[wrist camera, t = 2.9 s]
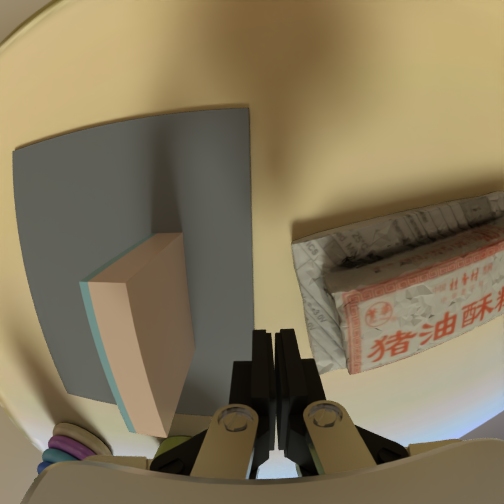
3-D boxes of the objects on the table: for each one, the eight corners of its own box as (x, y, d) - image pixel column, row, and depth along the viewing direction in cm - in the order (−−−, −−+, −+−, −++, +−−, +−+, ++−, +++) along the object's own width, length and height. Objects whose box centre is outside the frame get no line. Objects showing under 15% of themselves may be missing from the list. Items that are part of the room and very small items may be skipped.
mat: (248, 108, 15) (248, 107, 15) (255, 414, 21) (255, 417, 21) (14, 151, 15) (12, 151, 15) (68, 391, 21) (67, 393, 21)
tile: (182, 232, 17) (125, 282, 9) (195, 348, 19) (167, 437, 11) (151, 233, 17) (79, 281, 9) (167, 347, 19) (129, 431, 11)
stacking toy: (46, 417, 23) (-20, 522, 5) (88, 420, 22) (19, 554, 4) (83, 458, 25) (37, 559, 7) (127, 463, 24) (85, 586, 6)
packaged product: (540, 194, 11) (529, 320, 14) (498, 186, 16) (497, 297, 19) (296, 261, 13) (325, 411, 15) (285, 237, 17) (313, 366, 20)
